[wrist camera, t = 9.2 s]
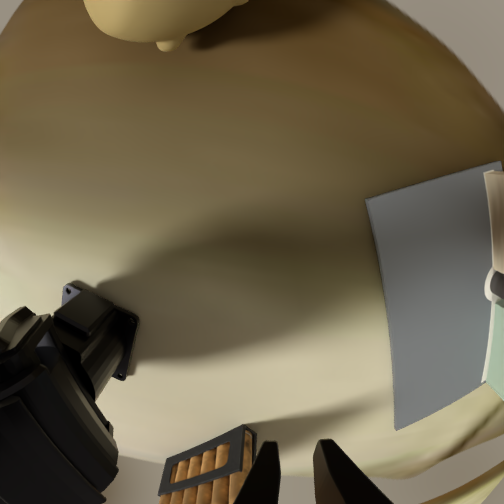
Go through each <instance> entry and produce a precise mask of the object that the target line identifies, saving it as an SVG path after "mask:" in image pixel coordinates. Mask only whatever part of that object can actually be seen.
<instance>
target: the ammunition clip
mask: <svg viewBox="0 0 504 504" xmlns="http://www.w3.org/2000/svg"><path fill="white" fill-rule="evenodd" d="M256 443H257V434H256V433H255V432H253V431H252V430H251V429H249V428H248V427H246V426H245V425H243V424H242V425H240V426H238V427H236V428H234V429H232V430H230V431H228V432H226V433H224V434H222V435H220V436H218V437H216V438H214V439H212V440H209V441H207V442H205V443H203V444H201V445H198V446H196V447H194V448H191V449H189V450H187V451H184V452H182V453H179V454H177V455H175V456H172V457H169V458H167V459H166V462H165V467H164V471H163V475H162V479H161V483H160V488H159V491H158V496H160V501H159V504H233V502H234V500H235V498H236V497H237V495H238V493H239V491H240V489H241V487H242V485H243V483H244V481H245V479H246V477H247V475H248V473H249V471H250V469H251V467H252V465H253V463H254V461H255V459H256Z"/></svg>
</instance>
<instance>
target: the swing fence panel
mask: <svg viewBox="0 0 504 504" xmlns="http://www.w3.org/2000/svg"><path fill="white" fill-rule="evenodd" d="M486 383H487V384H488V385H489V386H490V387H491V388H492V389H493V390H494V391H495V392H496V393H497V394H498V395H499V396H500V397H501V399H502V400H503V401H504V299H501V300H499V301H498V302H496V303H495V316H494V329H493V338H492V347H491V354H490V361H489V367H488V373H487V378H486Z"/></svg>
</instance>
